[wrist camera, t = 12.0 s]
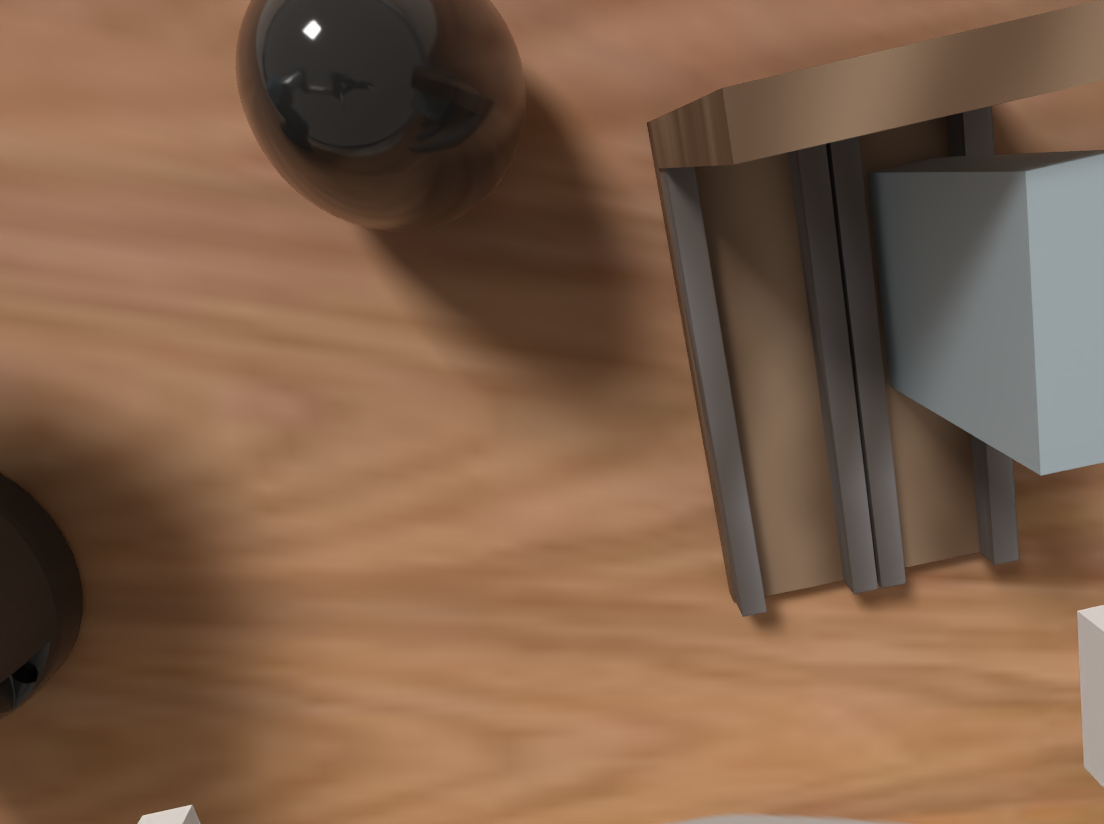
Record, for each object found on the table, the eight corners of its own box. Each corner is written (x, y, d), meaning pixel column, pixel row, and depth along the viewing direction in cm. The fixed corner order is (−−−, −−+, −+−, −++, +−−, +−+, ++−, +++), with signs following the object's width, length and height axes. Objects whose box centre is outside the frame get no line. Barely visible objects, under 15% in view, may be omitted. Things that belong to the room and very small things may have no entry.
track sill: (729, 593, 43) (829, 806, 28) (646, 122, 36) (722, 88, 22) (994, 538, 42) (1233, 727, 28) (960, 50, 35) (1253, -36, 21)
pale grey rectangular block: (889, 385, 39) (1040, 475, 27) (867, 172, 36) (1025, 171, 24) (951, 372, 38) (1130, 456, 27) (934, 157, 36) (1125, 149, 24)
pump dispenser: (546, -1, 34) (555, -129, 20) (506, 243, 37) (488, 288, 23) (306, -51, 34) (132, -222, 19) (284, 202, 37) (118, 221, 22)
